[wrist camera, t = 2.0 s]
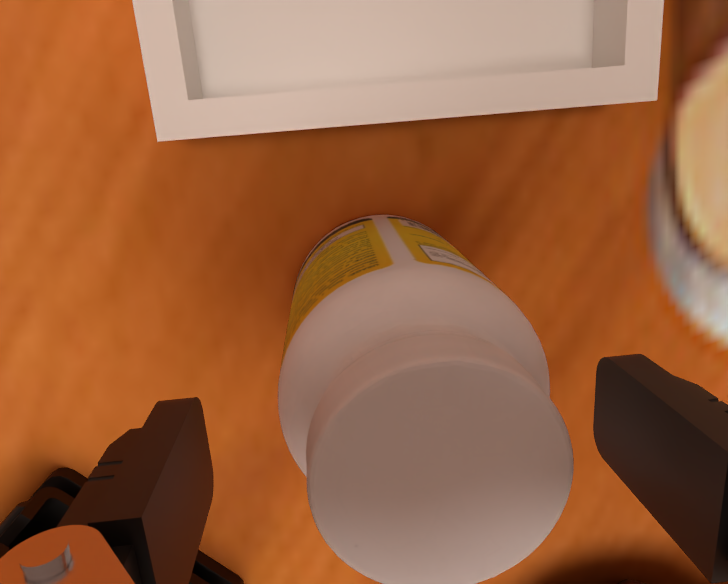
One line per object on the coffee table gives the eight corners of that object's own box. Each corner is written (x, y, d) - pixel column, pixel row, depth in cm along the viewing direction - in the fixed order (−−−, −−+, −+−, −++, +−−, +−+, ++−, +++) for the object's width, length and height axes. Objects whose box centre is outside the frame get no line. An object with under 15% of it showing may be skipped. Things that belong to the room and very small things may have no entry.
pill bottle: (302, 383, 21) (278, 646, 10) (285, 218, 19) (233, 331, 9) (467, 369, 21) (608, 610, 11) (465, 205, 19) (630, 298, 9)
